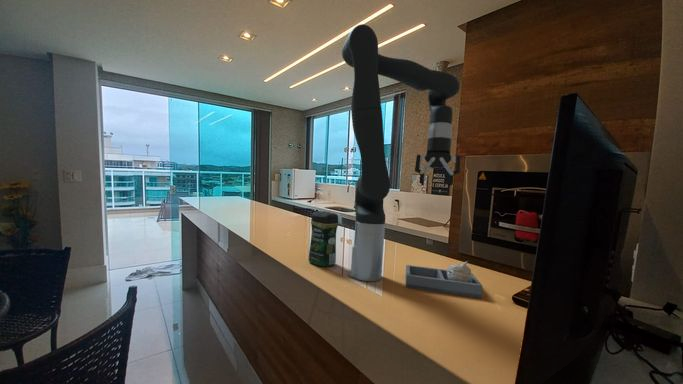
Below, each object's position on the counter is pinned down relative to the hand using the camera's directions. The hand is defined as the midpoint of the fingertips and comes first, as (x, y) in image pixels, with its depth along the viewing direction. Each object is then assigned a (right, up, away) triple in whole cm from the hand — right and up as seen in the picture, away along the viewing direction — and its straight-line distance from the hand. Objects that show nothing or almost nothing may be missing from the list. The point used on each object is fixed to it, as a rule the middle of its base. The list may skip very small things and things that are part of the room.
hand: (435, 186), depth 90 cm
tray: (-2, -30, -11) cm, 32 cm away
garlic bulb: (+2, -30, -12) cm, 32 cm away
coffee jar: (-39, -28, +4) cm, 48 cm away
